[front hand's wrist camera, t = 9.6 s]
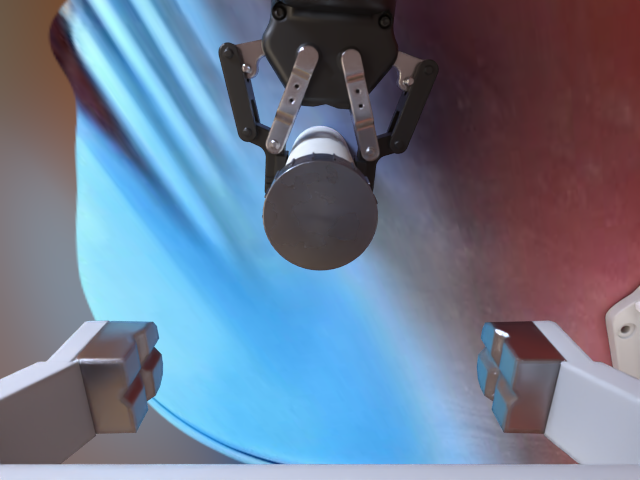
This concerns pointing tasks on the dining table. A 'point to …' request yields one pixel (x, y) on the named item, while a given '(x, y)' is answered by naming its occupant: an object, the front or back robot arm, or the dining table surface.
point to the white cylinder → (320, 143)
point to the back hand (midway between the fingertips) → (317, 206)
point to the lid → (320, 212)
